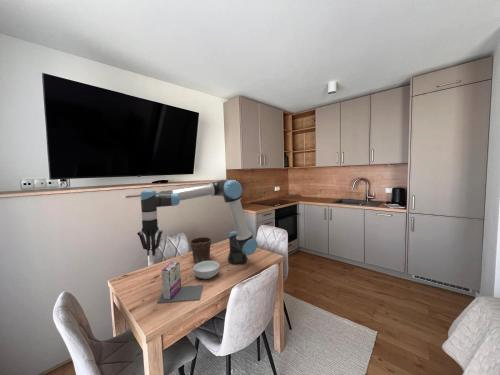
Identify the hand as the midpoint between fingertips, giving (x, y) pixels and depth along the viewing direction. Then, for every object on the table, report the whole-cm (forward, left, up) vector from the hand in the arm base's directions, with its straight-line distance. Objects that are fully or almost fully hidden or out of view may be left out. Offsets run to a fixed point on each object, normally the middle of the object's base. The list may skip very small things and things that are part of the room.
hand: (151, 261), depth 112 cm
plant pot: (-20, -44, -20) cm, 53 cm away
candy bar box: (-10, 0, -20) cm, 22 cm away
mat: (-15, 0, -20) cm, 25 cm away
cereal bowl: (-27, -19, -20) cm, 39 cm away
